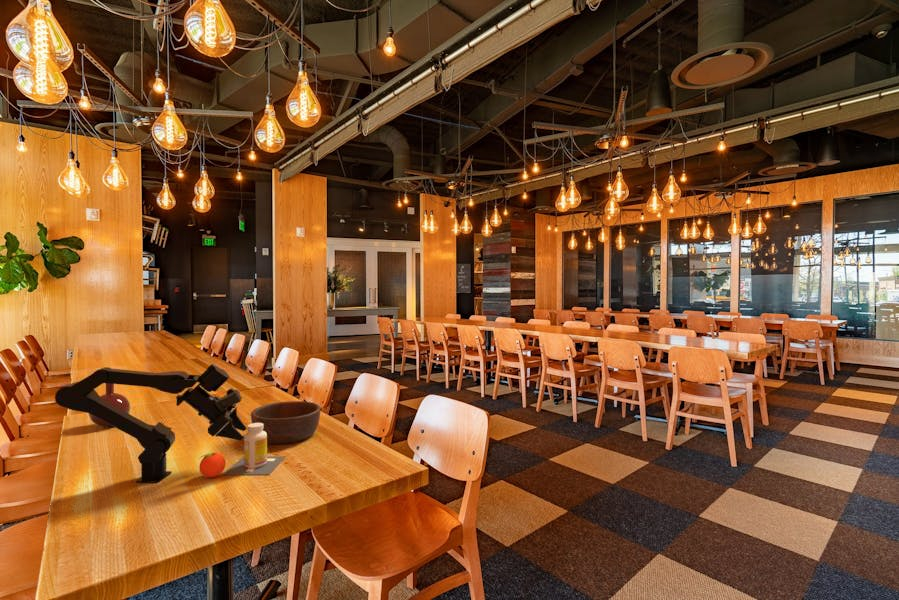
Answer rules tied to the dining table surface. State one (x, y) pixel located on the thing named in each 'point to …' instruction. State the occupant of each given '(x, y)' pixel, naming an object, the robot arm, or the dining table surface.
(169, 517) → the dining table surface
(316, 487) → the dining table surface
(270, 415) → the wooden bowl
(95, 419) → the round-bottom flask
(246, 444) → the supplement bottle
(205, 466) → the clementine
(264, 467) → the letter tile
